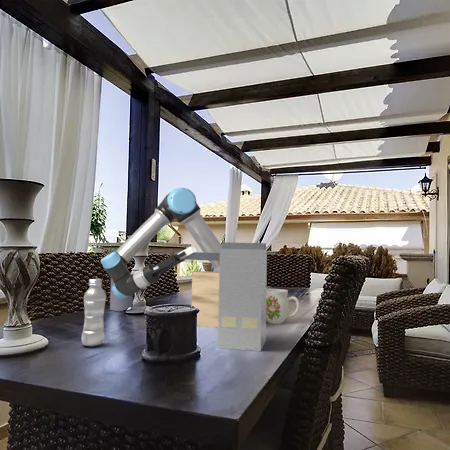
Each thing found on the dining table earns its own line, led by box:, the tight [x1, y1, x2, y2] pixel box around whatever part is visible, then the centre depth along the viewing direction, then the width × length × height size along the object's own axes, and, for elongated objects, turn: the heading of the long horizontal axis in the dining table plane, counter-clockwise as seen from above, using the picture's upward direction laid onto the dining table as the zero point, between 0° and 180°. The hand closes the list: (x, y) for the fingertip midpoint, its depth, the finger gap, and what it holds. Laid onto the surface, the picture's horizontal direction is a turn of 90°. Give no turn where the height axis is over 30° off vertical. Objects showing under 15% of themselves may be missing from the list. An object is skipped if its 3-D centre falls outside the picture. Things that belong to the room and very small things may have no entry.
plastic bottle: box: [81, 278, 107, 347], centre depth 115 cm, size 6×7×20 cm
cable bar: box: [174, 251, 220, 261], centre depth 152 cm, size 4×24×3 cm, turn 77°
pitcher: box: [266, 287, 300, 325], centre depth 156 cm, size 11×18×14 cm, turn 69°
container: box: [109, 278, 134, 312], centre depth 180 cm, size 10×10×15 cm
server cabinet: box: [217, 242, 268, 352], centre depth 120 cm, size 13×13×32 cm
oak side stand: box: [191, 270, 219, 328], centre depth 150 cm, size 9×18×20 cm, turn 77°
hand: (194, 249), depth 153 cm, fingers closed on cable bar, 4 cm apart
